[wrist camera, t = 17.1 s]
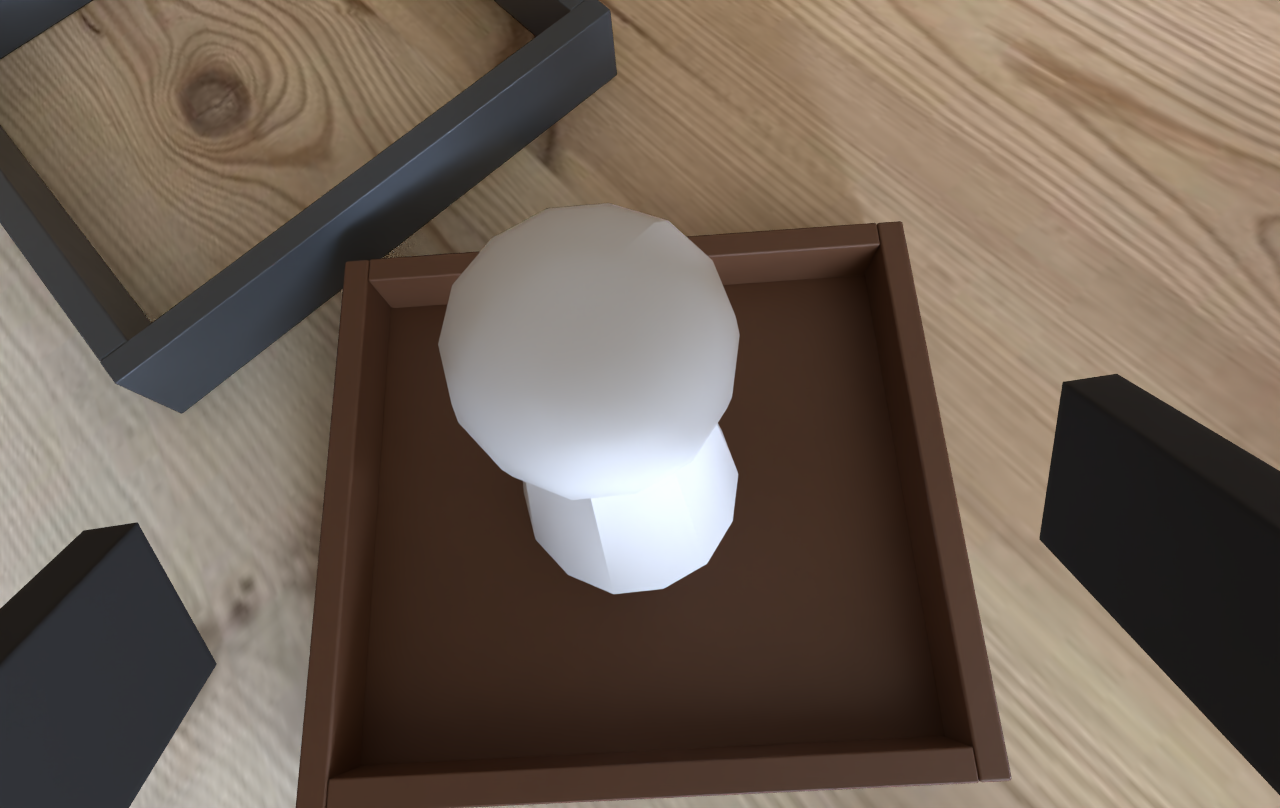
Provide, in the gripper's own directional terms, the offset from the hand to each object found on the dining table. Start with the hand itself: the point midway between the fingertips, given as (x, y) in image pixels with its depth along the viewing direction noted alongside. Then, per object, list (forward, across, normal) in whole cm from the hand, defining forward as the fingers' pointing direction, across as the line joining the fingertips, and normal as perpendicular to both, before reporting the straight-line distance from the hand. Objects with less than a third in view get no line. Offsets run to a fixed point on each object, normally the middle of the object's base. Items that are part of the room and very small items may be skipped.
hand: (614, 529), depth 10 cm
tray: (+10, 0, -6) cm, 12 cm away
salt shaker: (+10, 0, -6) cm, 11 cm away
